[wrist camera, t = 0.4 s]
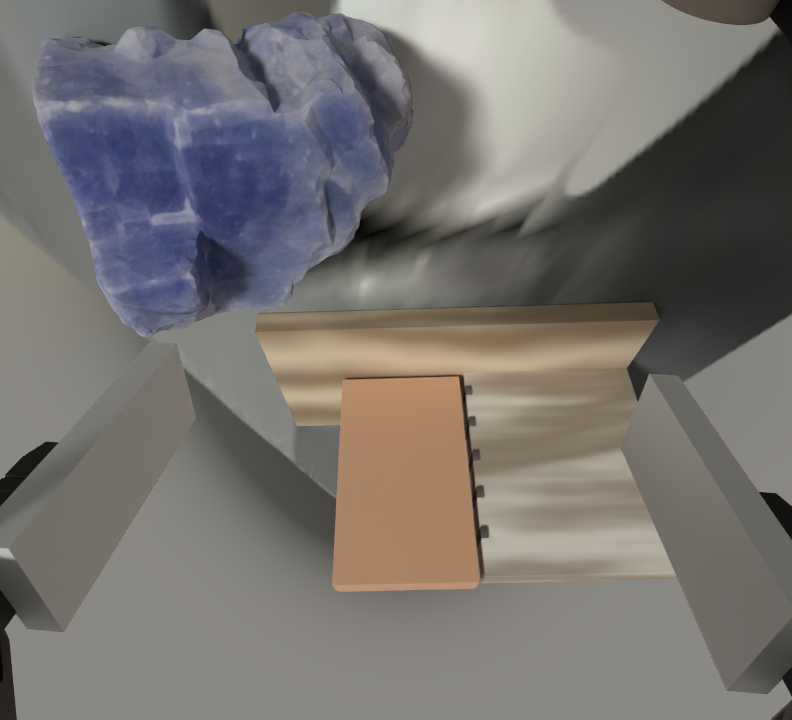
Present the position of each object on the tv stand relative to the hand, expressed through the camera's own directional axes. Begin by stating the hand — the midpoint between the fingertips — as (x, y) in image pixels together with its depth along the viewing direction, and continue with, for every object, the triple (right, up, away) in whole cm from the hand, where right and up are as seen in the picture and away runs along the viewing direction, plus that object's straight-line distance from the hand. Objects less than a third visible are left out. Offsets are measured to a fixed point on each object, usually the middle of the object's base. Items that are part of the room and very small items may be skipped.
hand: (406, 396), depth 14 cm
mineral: (-7, +12, +8) cm, 16 cm away
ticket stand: (+4, +1, +24) cm, 25 cm away
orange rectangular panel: (0, -1, +23) cm, 23 cm away
